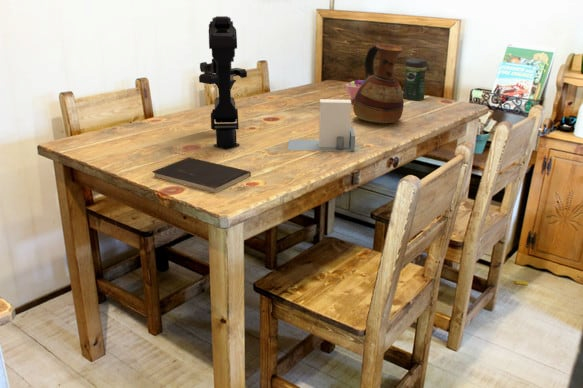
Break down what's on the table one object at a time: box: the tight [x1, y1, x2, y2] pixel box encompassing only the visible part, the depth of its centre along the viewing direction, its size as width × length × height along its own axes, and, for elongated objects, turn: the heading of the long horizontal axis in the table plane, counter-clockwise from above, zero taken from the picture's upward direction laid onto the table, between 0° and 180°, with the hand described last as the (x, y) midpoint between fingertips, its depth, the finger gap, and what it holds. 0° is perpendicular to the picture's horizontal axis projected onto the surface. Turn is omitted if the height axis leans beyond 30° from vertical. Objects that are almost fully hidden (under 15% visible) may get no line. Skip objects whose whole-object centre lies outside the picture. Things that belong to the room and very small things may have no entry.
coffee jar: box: [402, 57, 428, 101], centre depth 256 cm, size 10×8×19 cm
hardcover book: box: [152, 157, 252, 194], centre depth 158 cm, size 16×23×2 cm
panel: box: [318, 98, 352, 147], centre depth 181 cm, size 10×4×15 cm, turn 88°
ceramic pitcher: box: [352, 42, 405, 124], centre depth 214 cm, size 20×20×30 cm
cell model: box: [345, 79, 366, 100], centre depth 250 cm, size 17×20×11 cm
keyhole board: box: [287, 125, 356, 152], centre depth 184 cm, size 22×12×6 cm, turn 88°
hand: (224, 99), depth 197 cm, fingers closed
